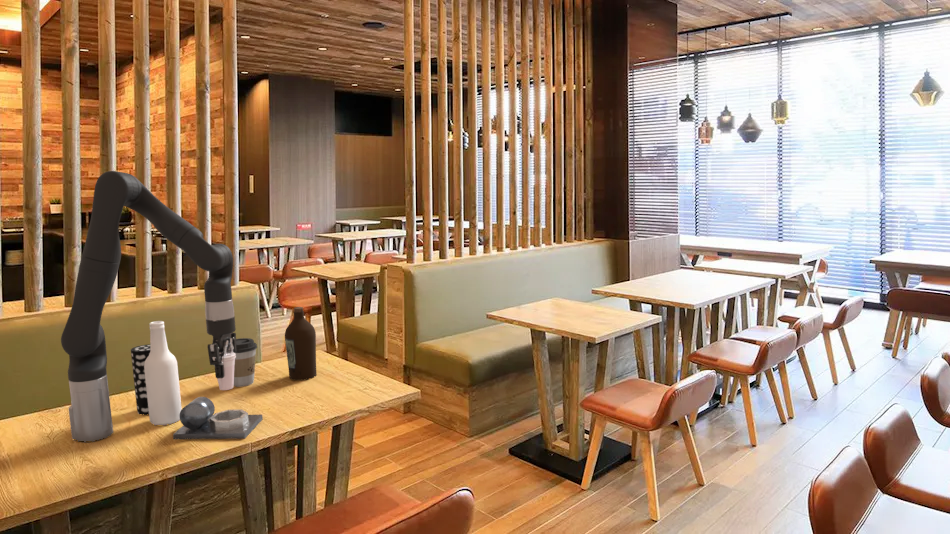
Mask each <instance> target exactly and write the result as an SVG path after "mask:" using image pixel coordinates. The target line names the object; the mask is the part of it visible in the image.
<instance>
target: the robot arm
mask: <svg viewBox="0 0 950 534" xmlns="http://www.w3.org/2000/svg"><path fill="white" fill-rule="evenodd" d="M91 207H92V208H91V216H90V222H89V226H88V230H87V234H86V237H85V238H86V239H85V243H84V247H83V250H82V254H81V258H80V262H79V267H78V271H77V276H76V282H75V287H74V296H73V301H72V302H73V303H72V306H71V308H70V312H69V315H68V318H67V321H66V323H65V327H64V328H63V331H62V333H61V337H60V344H61V347H62V350H64V352H65V353H66V354H67V355H68V358H69V362H68V367H67V378H68V384H69V386H68V387H69V393H70V401H71V405H70V406H68V417H69V424H70V425H69V426H70V434H71V440H72V439H76V440H78V441H77V442H79V441H84V442H83V443H87V442H86V441H92V442H96V441H95V440H97V441H100V440H99V439H101V440H104V439H106V438H108V436H109V437H111V436H112V435H113V434H114V426H113V417H112V416H113V415H112V408H111V399H110V391H109V390H110V389H109V382H108V374H107V365H108V358H107V357H108V356H107V342H106V333H105V329H104V328H103V326H102V325H101V320H102V315H103V309H104V308H105V305H106V303H107V300H108V299H109V296H110V293H111V291H112V289H113V287H114V284H115V282H116V278H117V275H118V272H119V267H120V264H121V258H122V245H121V239H120V234H119V233H120V231H119V230H120V229H119V226H120V220H121V216H122V212H123V209H124V207H126V208H128V209H129V210H132V211H134V212H135V213H138V214H139V215H141V216H143V218H145V219H146V220H148V222H150V223H151V225H153V227H154V228H155V229H156V230H157V231H158V232H159V233H160V235H162V236H163V237H164V238H165V239H167V241H169V242H170V243H172V244H173V245H174V246H176V247H177V248H178V249H180V250H182V251H183V252H184V253H185V254H186V255H187V256H188V258H190V260H191V261H192V262H193V263H194V264H195V265H196V266H197V267H199V268H201V270H204V271H206V272H208V278H207V279H206V281H205V282H204V285H203V290H204V304H205V305H204V306H205V307H204V314H205V325H206V327H205V328H206V333H207V334H208V335H209V336H212V343H211V344H210V343H209V344H207V353H208V359H209V360H208V361H209V365H210V366H214V365H215V366H214V373H215V378H216V379H217V378H223V377H224V365H223V361H224V357H225V356H226V352H234V353H236V339H237V333H236V329H237V328H236V319H235V318H236V316H235V315H236V314H235V307H234V303H233V294H232V292H233V291H232V278H233V277H232V276H233V271H234V270H233V269H234V257H233V253H232V250H231V249H230V248H229V246H228V245H226V244H223V243H216V244H210V243H209V242H208V241H207V240H205V238H204V234H203V232H202V231H201V230H200V229H199V228H197V227H195V226H194V225H193V224H191V223H190V222H189V221H187V220H186V219H185V218H184V217H182V216H181V215H179V214H178V213H176V212H175V211H173V209H171V208H169V207H168V206H167V205H165V204H164V202H162V200H159V198H157V197H156V196H155V195H154V194H153V193H152V192H151V191H150V190H149V189H148V188H147V187H146V185H144V184H143V183H142V182H141V181H140V180H139V179H138V178H137V177H136V176H134V175H133V174H131V173H128V172H122V171H115V170H108V171H105V172H103V173H102V174H100V175H99V176H98V178H97V180H96V182H95V185H94V191H93V199H92V206H91ZM219 353H220V354H219ZM213 357H214V358H213ZM112 433H113V434H112ZM111 434H112V435H111ZM103 438H104V439H103ZM76 440H75V441H76Z"/></svg>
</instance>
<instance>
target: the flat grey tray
mask: <svg viewBox="0 0 950 534" xmlns="http://www.w3.org/2000/svg"><path fill="white" fill-rule="evenodd" d="M215 408H216V407H215V404H214V402H213V401H212V400H211V399H210V398H209V397H206V396H198V397H196V398H194V399H193V400H192V401H190V402H189V403H188V404H187V405H186V404H185V406H184V407H183V408H182V410H181V412H180V420H179V421H180V424H182V426H181V427H180V428H178V429H177V430H176V431H175V432H174V433H172V438H173V440H222V439H223V440H231V439H233V440H235V439H236V440H237V439H239V440H241V439H242V440H243V439H246V438H247V437H248V436H249V435H250V434H251V433H252V432H253V431H254V430H255V429H256V428H257V426H258V425H259V424H260V423H261V422H262V421H263V420H264V419H263V418H264V417H263V414H249V412H247V411H245V410H244V409H225V410H222V411H219V412H215V410H216V409H215Z"/></svg>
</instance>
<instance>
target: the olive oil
mask: <svg viewBox="0 0 950 534" xmlns="http://www.w3.org/2000/svg"><path fill="white" fill-rule="evenodd" d="M293 316H294V317H293V320H292V321H291V322H290V323H289V324H288V326H286V328H285V332H284V341H285V342H284V343H285V351H286V357H287V358H286V359H287V365H288V366H287V367H288V376H289V379H290V380H294V381H303V380H304V379H306V380H310V379H309V378H311V379H313V378H315V377H316V376H317V348H316V347H317V345H316V343H317V339H316V337H317V334H316V329H315V328H314V326H313V325H312V323H311V322H310V321H308V320H307V319H306V318H305V311H304V307H303V306H295V307H294V308H293ZM314 376H315V377H314ZM312 377H313V378H312ZM304 381H305V380H304Z"/></svg>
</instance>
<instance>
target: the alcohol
mask: <svg viewBox="0 0 950 534" xmlns="http://www.w3.org/2000/svg"><path fill="white" fill-rule="evenodd" d="M148 325H149V333H150V334H149V338H150V341H149V342H150V350H151V351H150V355H149V356H148V357H147V359H146V360H145V365H144V370H145V380H146V390H147V399H148V409H149V415H148V416H149V422H150V423H151V424H152V425H153V424H154V426H156V425H163V426H167V424H169V425H172V423H173V424H175V422H176V423H178V422H179V421H180V412H181V410H182V409H183V408H182V401H181V400H182V398H181V389H180V388H181V387H180V379H179V367H178V360H177V357H176V356H175V355H174V354H173V353H172V352H171V351H170V350H169V347H168V346H169V345H168V342H167V341H168V340H167V335H166V330H165V326H166V325H165V321H163V320H155V321H151V322H149V323H148ZM177 421H178V422H177Z"/></svg>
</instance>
